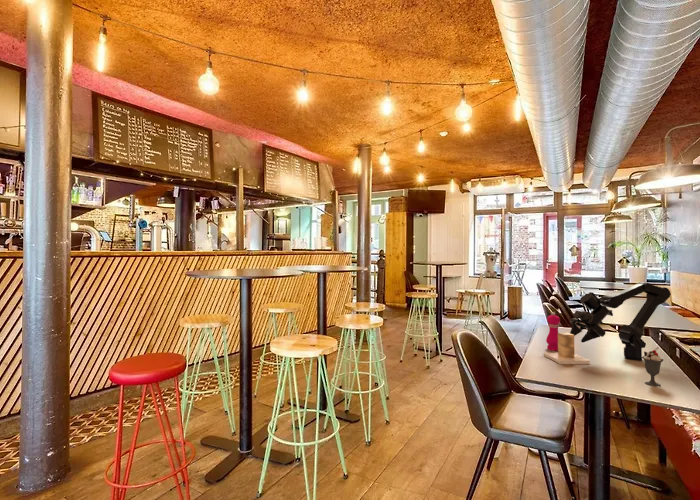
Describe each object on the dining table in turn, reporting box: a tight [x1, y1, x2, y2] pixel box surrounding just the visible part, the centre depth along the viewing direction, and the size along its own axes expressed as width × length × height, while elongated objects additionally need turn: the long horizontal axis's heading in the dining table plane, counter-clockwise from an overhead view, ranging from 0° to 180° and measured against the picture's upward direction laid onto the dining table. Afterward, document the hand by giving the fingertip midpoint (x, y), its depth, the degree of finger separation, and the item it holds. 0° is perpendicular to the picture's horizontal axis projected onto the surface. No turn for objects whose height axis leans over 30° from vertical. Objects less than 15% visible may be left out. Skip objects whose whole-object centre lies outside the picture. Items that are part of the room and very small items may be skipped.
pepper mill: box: [545, 311, 561, 352], centre depth 198 cm, size 7×7×20 cm
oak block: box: [557, 332, 576, 358], centre depth 179 cm, size 5×5×11 cm
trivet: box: [543, 352, 591, 365], centre depth 179 cm, size 14×14×2 cm
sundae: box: [642, 346, 664, 387], centre depth 145 cm, size 7×7×15 cm
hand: (575, 339), depth 179 cm, fingers open, 9 cm apart
